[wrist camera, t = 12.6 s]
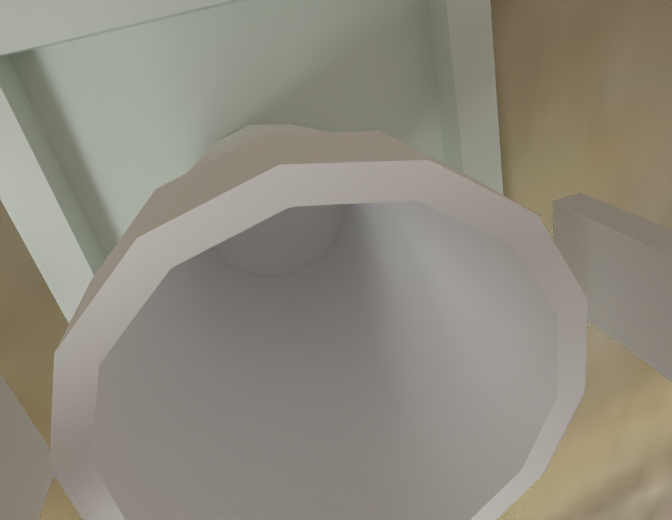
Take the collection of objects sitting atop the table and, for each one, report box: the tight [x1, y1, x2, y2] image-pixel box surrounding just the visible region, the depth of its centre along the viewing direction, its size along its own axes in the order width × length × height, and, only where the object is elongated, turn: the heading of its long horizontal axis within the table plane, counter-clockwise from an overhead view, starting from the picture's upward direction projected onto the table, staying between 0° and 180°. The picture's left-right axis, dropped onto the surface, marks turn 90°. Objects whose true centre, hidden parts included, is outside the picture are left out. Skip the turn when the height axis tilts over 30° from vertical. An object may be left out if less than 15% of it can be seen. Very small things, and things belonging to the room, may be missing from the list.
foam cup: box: [49, 124, 588, 520], centre depth 15 cm, size 10×9×13 cm
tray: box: [0, 0, 503, 323], centre depth 20 cm, size 18×18×3 cm
